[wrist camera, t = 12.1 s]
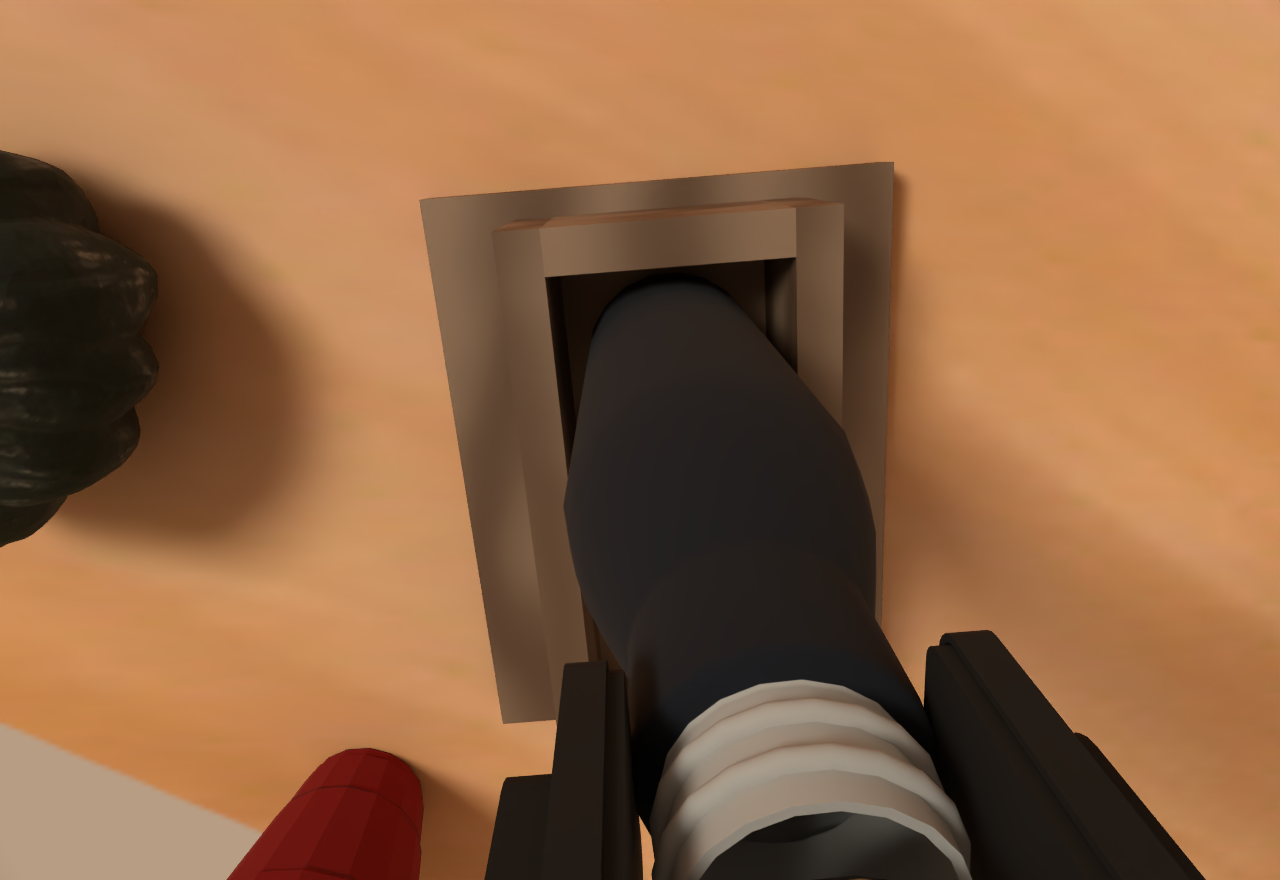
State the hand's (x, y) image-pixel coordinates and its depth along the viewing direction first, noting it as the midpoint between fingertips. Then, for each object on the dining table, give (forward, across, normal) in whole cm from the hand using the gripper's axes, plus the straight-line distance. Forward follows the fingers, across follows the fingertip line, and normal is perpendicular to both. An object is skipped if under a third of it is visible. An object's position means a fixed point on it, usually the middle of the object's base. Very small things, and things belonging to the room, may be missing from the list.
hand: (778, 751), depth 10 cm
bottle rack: (+25, 0, +6) cm, 26 cm away
